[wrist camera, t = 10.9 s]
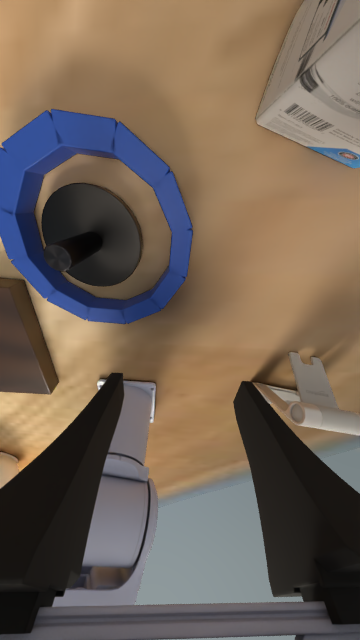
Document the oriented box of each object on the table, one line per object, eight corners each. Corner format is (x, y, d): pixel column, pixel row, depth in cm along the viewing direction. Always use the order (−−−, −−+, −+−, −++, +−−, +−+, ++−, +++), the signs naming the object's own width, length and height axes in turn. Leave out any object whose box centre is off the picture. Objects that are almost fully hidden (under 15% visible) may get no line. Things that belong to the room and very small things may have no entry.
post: (142, 286, 19) (128, 321, 14) (60, 278, 18) (10, 311, 13) (142, 191, 15) (122, 185, 9) (36, 177, 14) (-52, 161, 9)
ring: (179, 317, 21) (180, 328, 19) (43, 305, 20) (29, 316, 18) (202, 142, 13) (206, 132, 11) (-18, 108, 12) (-53, 91, 10)
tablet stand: (246, 387, 27) (270, 451, 20) (275, 347, 24) (317, 410, 16) (296, 397, 29) (335, 460, 22) (332, 361, 25) (394, 424, 18)
